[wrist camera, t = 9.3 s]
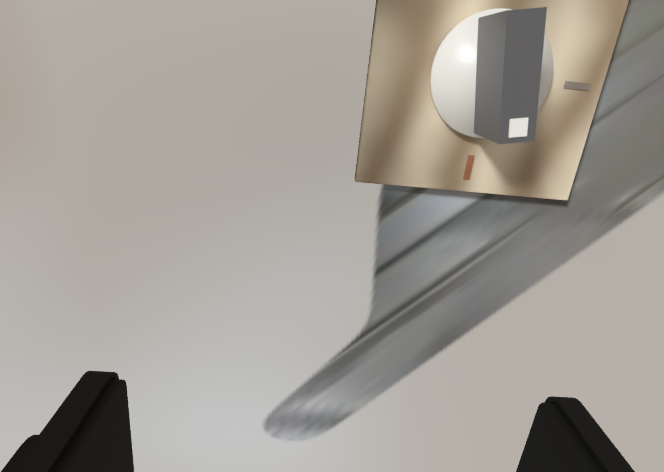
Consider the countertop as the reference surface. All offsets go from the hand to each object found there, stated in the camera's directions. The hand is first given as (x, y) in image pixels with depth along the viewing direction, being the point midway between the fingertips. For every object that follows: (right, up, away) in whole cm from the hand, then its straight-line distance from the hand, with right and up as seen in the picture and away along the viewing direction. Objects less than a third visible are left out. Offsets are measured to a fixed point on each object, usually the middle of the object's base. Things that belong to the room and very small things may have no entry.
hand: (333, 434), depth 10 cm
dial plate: (+12, +17, +24) cm, 32 cm away
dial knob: (+12, +17, +23) cm, 31 cm away
